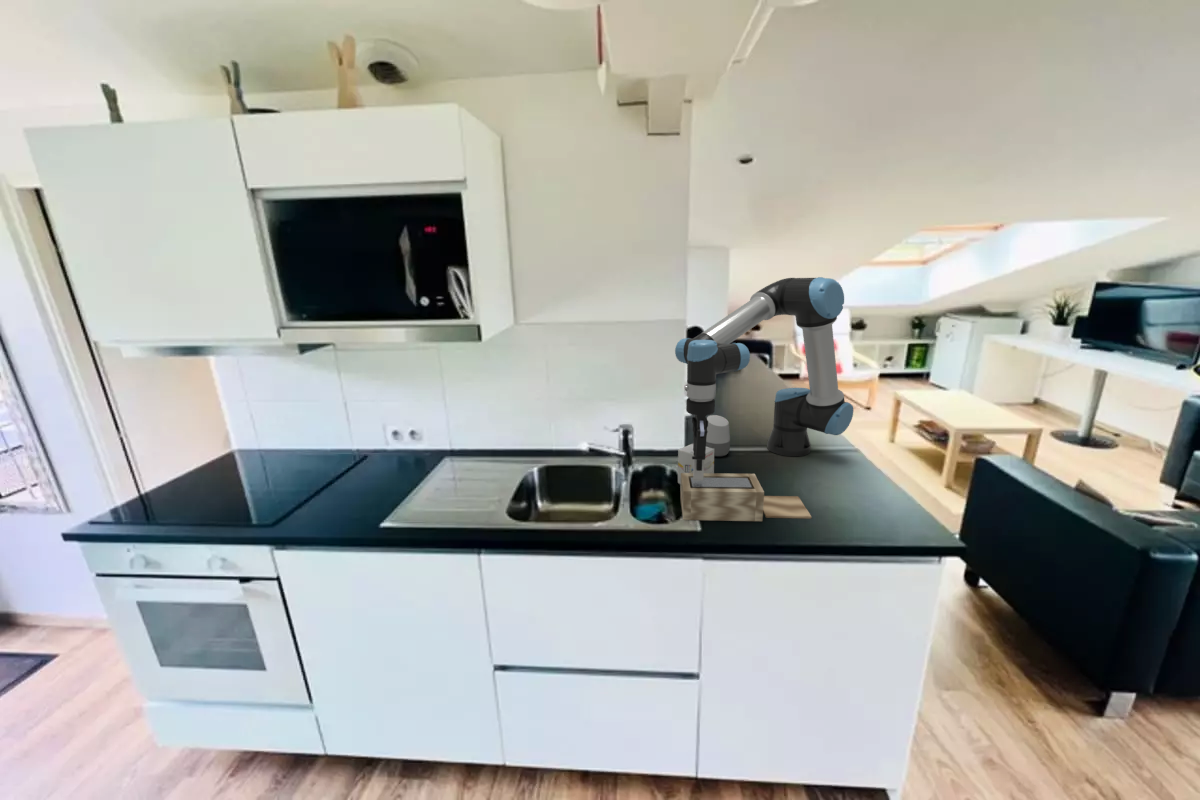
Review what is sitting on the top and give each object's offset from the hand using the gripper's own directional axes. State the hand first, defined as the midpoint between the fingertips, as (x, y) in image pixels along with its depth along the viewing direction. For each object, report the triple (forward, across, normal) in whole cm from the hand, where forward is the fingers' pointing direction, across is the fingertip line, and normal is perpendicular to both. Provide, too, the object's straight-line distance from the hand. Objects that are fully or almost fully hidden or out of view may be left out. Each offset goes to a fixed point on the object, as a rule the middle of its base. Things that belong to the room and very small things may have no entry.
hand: (698, 479), depth 136 cm
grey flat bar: (+3, 0, +6) cm, 7 cm away
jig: (+9, 0, +6) cm, 11 cm away
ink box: (+10, -18, +1) cm, 21 cm away
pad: (+9, -2, +24) cm, 26 cm away
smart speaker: (+9, -43, +11) cm, 46 cm away
